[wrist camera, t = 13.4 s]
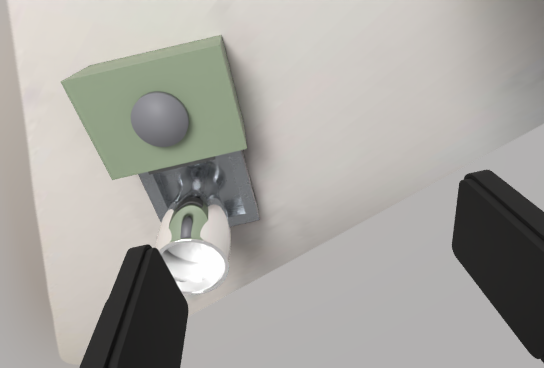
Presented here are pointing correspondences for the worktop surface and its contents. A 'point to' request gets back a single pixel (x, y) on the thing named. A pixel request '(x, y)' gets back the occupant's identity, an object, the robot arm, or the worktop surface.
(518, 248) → the robot arm
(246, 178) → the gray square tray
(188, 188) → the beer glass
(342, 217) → the worktop surface
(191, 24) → the worktop surface
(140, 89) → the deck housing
